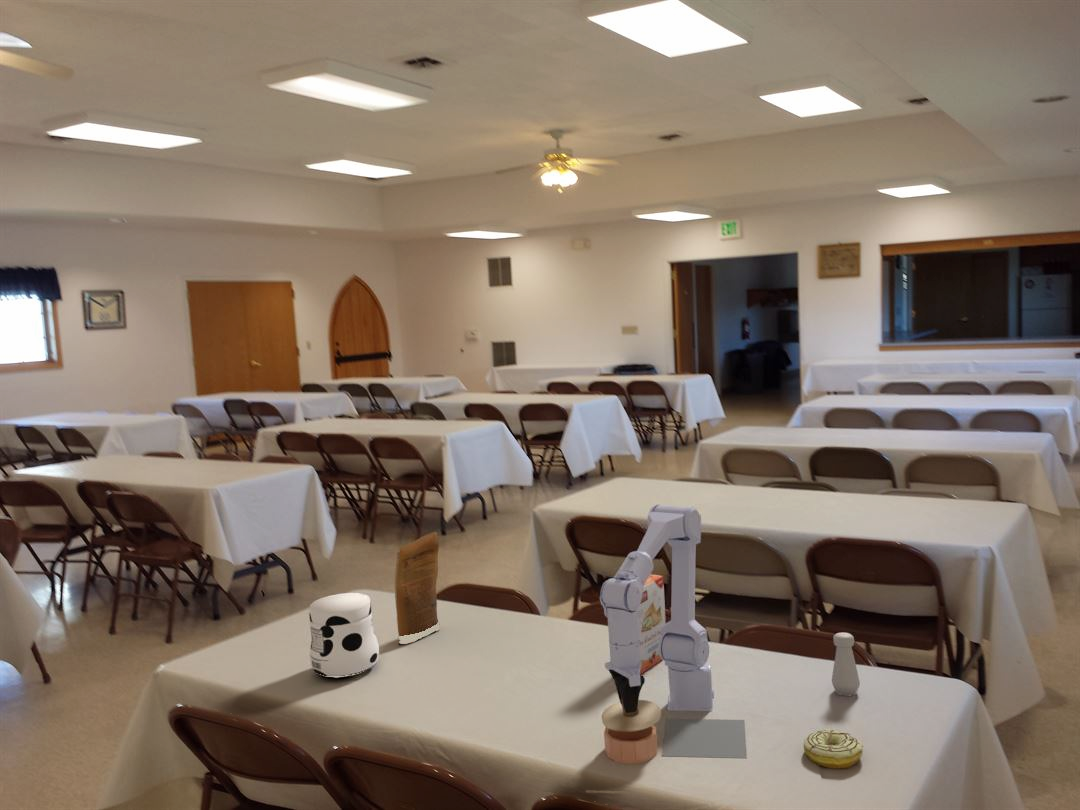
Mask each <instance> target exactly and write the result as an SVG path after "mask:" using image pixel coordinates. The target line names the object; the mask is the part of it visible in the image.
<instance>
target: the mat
mask: <svg viewBox="0 0 1080 810" xmlns="http://www.w3.org/2000/svg"><path fill="white" fill-rule="evenodd" d="M663 737H664V738H663V742H662V743H663V745H662V749H661V750H662V751H661V757H667V758H668V757H670V758H709V759H711V758H714V759H715V758H719V759H747V756H748V755H747V738H746V737H747V736H746V723H745V719H718V718H717V719H711V718H710V719H708V718H705V719H704V718H703V719H702V718H700V719H699V718H666V719H665V726H664V735H663Z"/></svg>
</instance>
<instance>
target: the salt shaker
mask: <svg viewBox="0 0 1080 810" xmlns="http://www.w3.org/2000/svg"><path fill="white" fill-rule="evenodd" d="M833 645H834V646H835V647H836V650H835V657H834V663H833V670H832V676H831V683H832V686H833V688H834V691H835V693H836V692H837V694H838V693H839V694H838V695H840V694H841V695H840V696H842V695H852V696H854V695H856V694H857V693H858V690H859V687H860V683H861V682H860V678H859V673H858V669H857V664H856V660H855V655H854V652H853V646H854V645H855V637H854V636H853V635H852V634H851V633H849V632H837V633H835V634H834V635H833ZM855 693H856V694H855ZM853 694H854V695H853Z"/></svg>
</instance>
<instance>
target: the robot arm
mask: <svg viewBox="0 0 1080 810" xmlns="http://www.w3.org/2000/svg"><path fill="white" fill-rule="evenodd" d="M701 537H702V516H701V514H700V513H699V511H698V510H697V508H696V507H694V506H678V505H677V506H676V505H675V506H674V505H673V506H672V505H663V504H662V505H661V504H658V503H657V504H654V505H653V506H651V508H650V510H649V512H648V515H647V530H646V531H645V534H644V535H643V538H642V540H641V542H640V544H639V546H638V548H637V550H635V551H631V552H629V553H628V554H627V556H626V557H625V559H624V561H623V563H622V564H621V566H620V567H619V569H618V570H617V572H616V573H615V575H614V576H613V578H612V577H611V578H608V579H607V580H605V581H604V582H603V583H602V586H601V588H600V596H599V602H600V605H601V607H602V608H603V613H604V616H605V617H606V618H607V628H608V639H609V640H608V643H609V644H608V646H609V655H610V660H609V662H608V661H607V662H605V663H604V668H605V669H606V670H607V671H608V672H609V673H610V676H611V678H612V679H613V682H614V684H615V688H616V692H617V695H618V699H619V702H620V703H621V705H622V701H623V706H624V709H625V711H626V713H629V712H636V710H637V706H638V700H640V695H641V690H642V688H643V686H644V684H645V681H646V679H645V676H644V675H639V674H640V669H641V660H640V652H639V637H638V623H637V608H638V607H639V606H640V603H641V599H642V594H643V590H644V588H643V586H644V584H645V582H646V581H647V579H648V577H649V576H650V574H652V572H653V570H654V563H653V559H655V557H656V556H657V554H658V553H659V552H660V550H662V548H663V547H664V545H665V544H666V543H668V544H667V545H669V546H670V548H671V599H670V600H671V601H670V602H671V603H670V605H671V606H670V612H671V615H670V620H669V621H668V622H666V624H665V625H664V626H663V627H662V628H661V635H660V639H659V643H658V652H659V655H660V657H661V659H662V660H661V661H664V666H666V667H667V672H668V687H669V695H668V703H667V711H671V712H675V711H676V712H713V710H714V708H713V705H714V702H713V701H714V699H715V693H714V692H715V691H714V689H713V679H712V678H713V677H712V666H711V665H712V664H707V662H708V659H709V656H710V644H709V641H708V633H707V632H708V631H707V629H706V628H705V627H704V626H703V625H701V624H700V623H699V622H698V621H697V620H696V619H695V618H696V617H695V616H696V614H695V612H696V611H695V610H696V609H695V608H696V602H695V601H696V600H695V599H696V555H697V554H696V553H697V552H696V548H697V545H698V544H701V542H702V541H701V540H702V538H701ZM621 699H622V701H621Z"/></svg>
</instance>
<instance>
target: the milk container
mask: <svg viewBox="0 0 1080 810" xmlns="http://www.w3.org/2000/svg"><path fill="white" fill-rule="evenodd" d="M371 603H372V602H371V599H370V596H369V595H367V594H365V593H361V592H348V593H347V592H345V593H337V594H333V595H326V596H324V597H321V598H319V599H316V600H314V601H313V602H312V603H310V605H309V610H308V611H309V613H308V614H309V627H310V634H311V643H310V650H309V661H310V665H311V668H312V670H313V672H314V671H315V672H316V673H318V674H321V675H324V676H345V675H352V674H357V673H360V672H363V671H366V670H368V669H369V670H371V669H372V668H374V667H375V665H376V664H377V663H378V661H379V655H380V646H379V641H378V638H377V636H376V633H375V631H374V622H373V612H372V604H371ZM371 667H372V668H371ZM370 668H371V669H370ZM369 670H368V671H369ZM315 672H314V673H315ZM366 672H367V671H366ZM316 673H315V674H316ZM318 674H317V675H318Z"/></svg>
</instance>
